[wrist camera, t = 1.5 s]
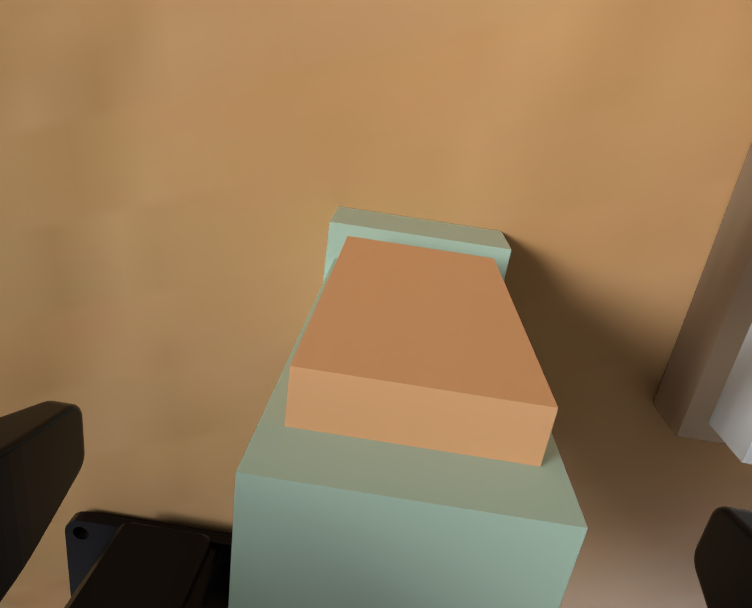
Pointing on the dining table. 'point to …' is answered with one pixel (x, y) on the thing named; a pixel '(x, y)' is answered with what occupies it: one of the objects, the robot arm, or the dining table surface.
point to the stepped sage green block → (407, 438)
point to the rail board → (717, 340)
